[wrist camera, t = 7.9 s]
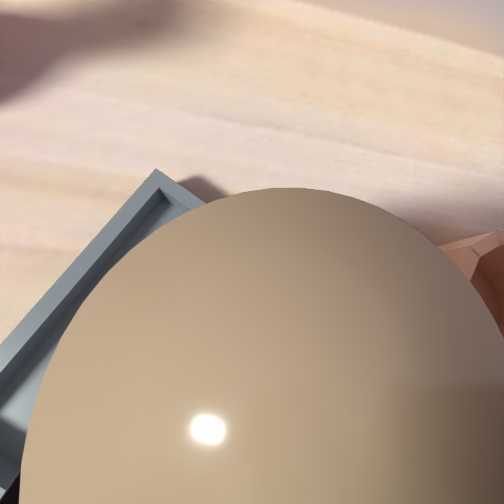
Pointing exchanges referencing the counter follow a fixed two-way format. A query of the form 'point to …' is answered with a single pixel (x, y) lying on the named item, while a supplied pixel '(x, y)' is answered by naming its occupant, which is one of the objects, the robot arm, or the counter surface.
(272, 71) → the counter surface
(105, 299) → the spice jar
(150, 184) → the tray
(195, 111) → the counter surface
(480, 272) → the terracotta cup
